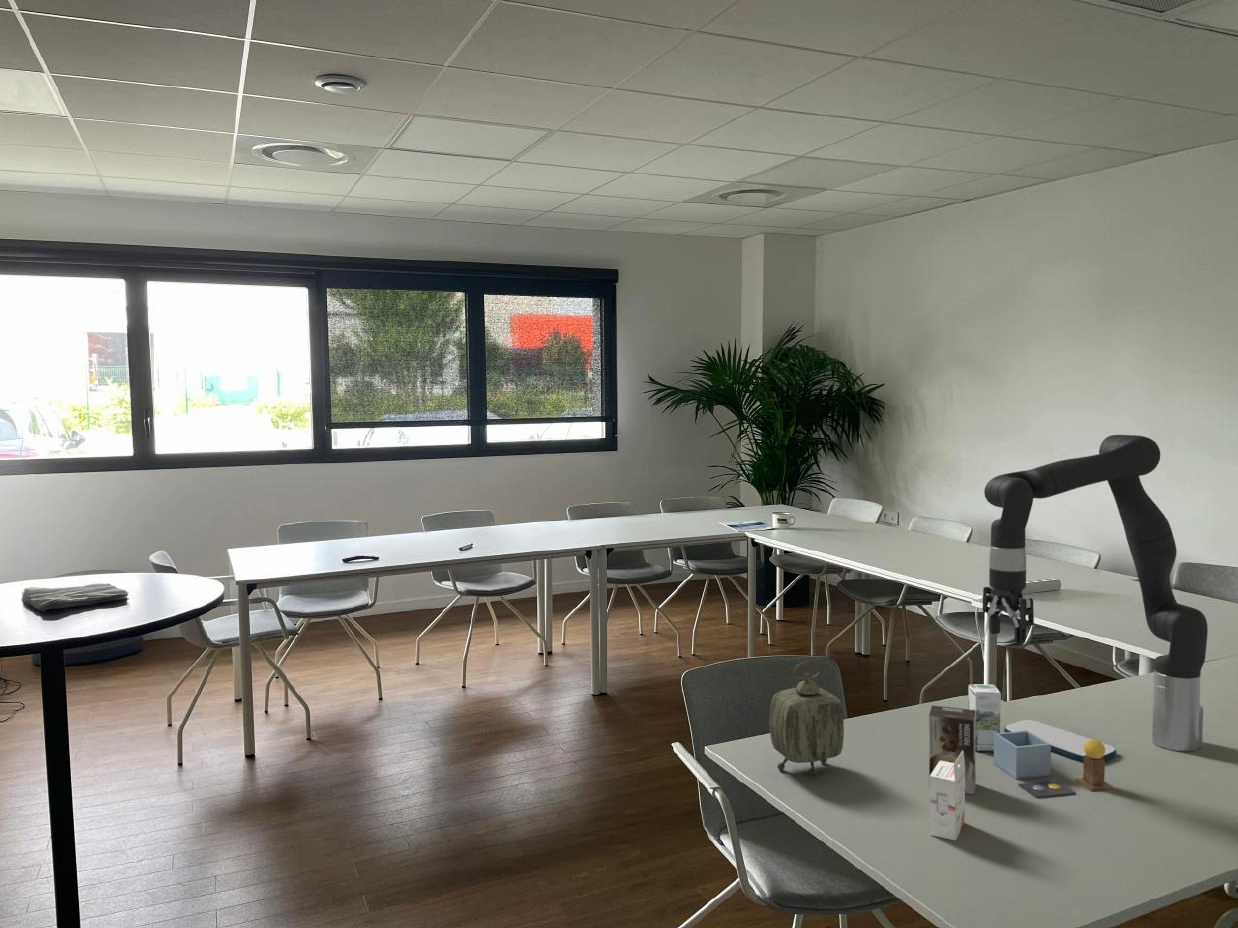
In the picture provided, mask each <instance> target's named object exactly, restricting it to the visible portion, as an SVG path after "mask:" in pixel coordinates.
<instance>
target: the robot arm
mask: <svg viewBox="0 0 1238 928" xmlns="http://www.w3.org/2000/svg"><path fill="white" fill-rule="evenodd" d="M1098 450H1099V451H1098V454H1093V455H1088V456H1081V457H1080V456H1079V457H1074V458H1068V459H1062V460H1057V461H1053V462H1050V463H1047V464H1044V465H1040V466H1038V467H1034V468H1031V469H1028V470H1020V471H1014V472H1009V473H1003V474H1000V475H997V476H995V477H992V478H991V479H990V480H989V481H988V482H987V483H986V485H985V487H984V491H983V492H984V493H983V494H984V497H985V499H986V501H987V502H988V503H989V504H991V505H992V506H994V507H997V508H1000V509H1001V508H1002V511H1001V515H1000V518H997V519H996V520H993V521H992V522H991V526H990V550H989V559H988V560H989V562H988V564H989V566H988V568H989V569H988V570H989V573H988V574H989V576H988V577H989V578H988V579H989V580H988V582H989V583H988V584H989V586H984V587H983V588H982V589H983V590H982V607H981V608H982V612H983V613H986V614H987V617H989V619H988V622H989V625H988V626H989V627H988V629H989V633H990V634H992V635H998V634H1000V633H1001V617H1000V615H1002V612H1004V613H1005V614H1007V615H1008V617H1009V618H1010V619H1012V621H1013V624H1014V626H1015V627H1014V643H1015V644H1017V645H1023V644H1026V641H1027V628H1028V627H1032V626H1034V625H1035V618H1034V616H1035V615H1034V599H1033V597H1026V598H1025V597H1024V596H1023V591H1024V590H1025V589H1026V587H1027V550H1026V528H1027V524H1028V523H1029V522H1028V521H1029V518H1030V514H1031V511H1032V508H1033V502H1034V499H1047V498H1050V497H1054V496H1057V495H1060V494H1063V493H1066V492H1069V491H1073V490H1076V489H1079V488H1083V487H1086V486H1091V485H1094V484H1097V483H1103V482H1107V483H1108V487H1109V489H1110V490H1111V492H1112V496H1113V498H1114V501H1115V504H1116V508H1117V510H1118V513H1119V516H1120V519H1121V523H1122V526H1123V528H1124V529H1123V531H1124V533H1125V538H1126V541H1127V545H1128V548H1129V551H1130V555H1131V557H1132V560H1133V563H1134V568H1135V571H1136V575H1137V579H1138V582H1139V586H1140V590H1141V595H1142V596H1141V598H1142V601H1143V610H1144V615H1145V619H1146V624H1147V627H1148V629H1149V631H1150V632H1151V634H1152V635H1153V636H1154V637H1156V638H1158V639H1160V640H1162V641H1165V642H1167V643H1169V650H1168V654H1164V655H1162V654H1161V655H1158V656H1156V657H1155V658H1154V661H1153V662H1154V663H1153V687H1152V688H1153V694H1152V729H1151V731H1152V733H1151V735H1152V736H1151V738H1152V739H1151V740H1152V742H1153V744H1155V745H1157V746H1158V747H1160V748H1164V749H1168V750H1171V751H1177V752H1178V751H1179V752H1193V751H1197V750H1199V748H1203V737H1204V736H1203V734H1204V733H1203V732H1204V731H1203V729H1204V727H1203V726H1204V707H1203V706H1202V705H1200V703H1201V676H1202V675H1201V671H1202V668H1203V667H1204V664H1205V662H1206V655H1207V654H1206V653H1207V644H1208V643H1207V642H1208V631H1209V629H1208V622H1207V618H1206V616H1205V614H1204V613H1203V612H1202V611H1200V610H1199V609H1197V608H1194V607H1192V606H1188V605H1184V604H1181V603H1178V601H1177V599H1176V597H1175V596H1174V595H1175V594H1174V592H1173V588H1172V585H1171V573H1172V571H1173V567H1174V565H1175V562H1176V558H1177V555H1178V554H1177V552H1178V550H1177V545H1176V541H1175V537H1174V534H1173V530H1172V527H1171V525H1170V522H1169V520H1168V519H1167V518H1166V515H1165V514H1164V513H1163V512H1162V511H1161V508H1159V506H1158V505H1157V504H1156V503H1155V502H1154V501H1153V499H1151V497H1150V495H1149V494H1148V492H1146V490H1145V489H1144V486H1143V484H1142V481H1141V477H1142V476H1146V475H1148V474H1149V473H1150V474H1151V473H1152V472H1153V471H1154V470H1155V469H1156V468H1157V467H1158V465H1159V463H1160V462H1161V461H1160V460H1161V451H1160V450H1161V449H1160V446H1159V445H1158V444H1157V442H1156V441H1155V440H1154V439H1151V438H1150V437H1148V436H1143V435H1138V434H1137V435H1135V434H1134V435H1133V434H1131V435H1130V434H1112V435H1109V436H1107V437H1105V438H1104V439H1103V440H1102V442H1101V443H1100V446H1099V449H1098ZM988 605H989V606H988Z"/></svg>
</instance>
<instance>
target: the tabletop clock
mask: <svg viewBox="0 0 1238 928" xmlns="http://www.w3.org/2000/svg"><path fill="white" fill-rule="evenodd" d="M806 665H815V666H817V667H818V669H819V671H818V672H817V673H816V674H814V675H812V676H811V675H810V673H808V672H807V673H805V674H804V677H803V676H802V677H801V676H798V675H796V671H797V670H798V669H799V668H801V667H802V666H806ZM822 670H823V669H822V666H821V664H819V662H816V661H814V660H806V661H801V662H799V663H798V664H796V666H795V667H794V669H793V670H792V671H793V672H792V673H793V677H794V678H796V679H797V680H798V681H799V680H800V682H799V683H798V684H797V686H796V687H792V688H787V689H784V690H780V691H779V692H777V693H775V694H773V696H772V699H771V701H770V708H769V709H770V710H769V734H770V741H771V744H772V746H773V749H774V750H775V751H776V752H778V753H779V754H780V755H782V756H783V757H784V760H783V761H782V762H779V763H778V764H777V769H778V770H780V771H784V770H785V765H786V763H787V762H788V761H789V762H792V763H795V764H796V763H797V764H801V763H802V764H803V763H810V766H811V768H810V769H809V774H810V775H811V776H812V777H813V776H814V777H815V776H817V774H818V770H817V769H816V768H815V762H819V761H820V763H821V764H827V761H828V760H829V759H831V758H836V757H837V756H839V755H840V754H841V753H842V750H843V747H844V734H845V725H844V723H845V722H844V711H843V710H844V709H843V705H842V702H841V700H840V698H838V697H837V696H835V695H833V694H832V693H830V692H829V691H828V690H825V689H823V687H819V686H818V684H817V683H816V682H814V681H813V680H815V679H816V678H817V677H819V676H820V675H821V673H822Z"/></svg>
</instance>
